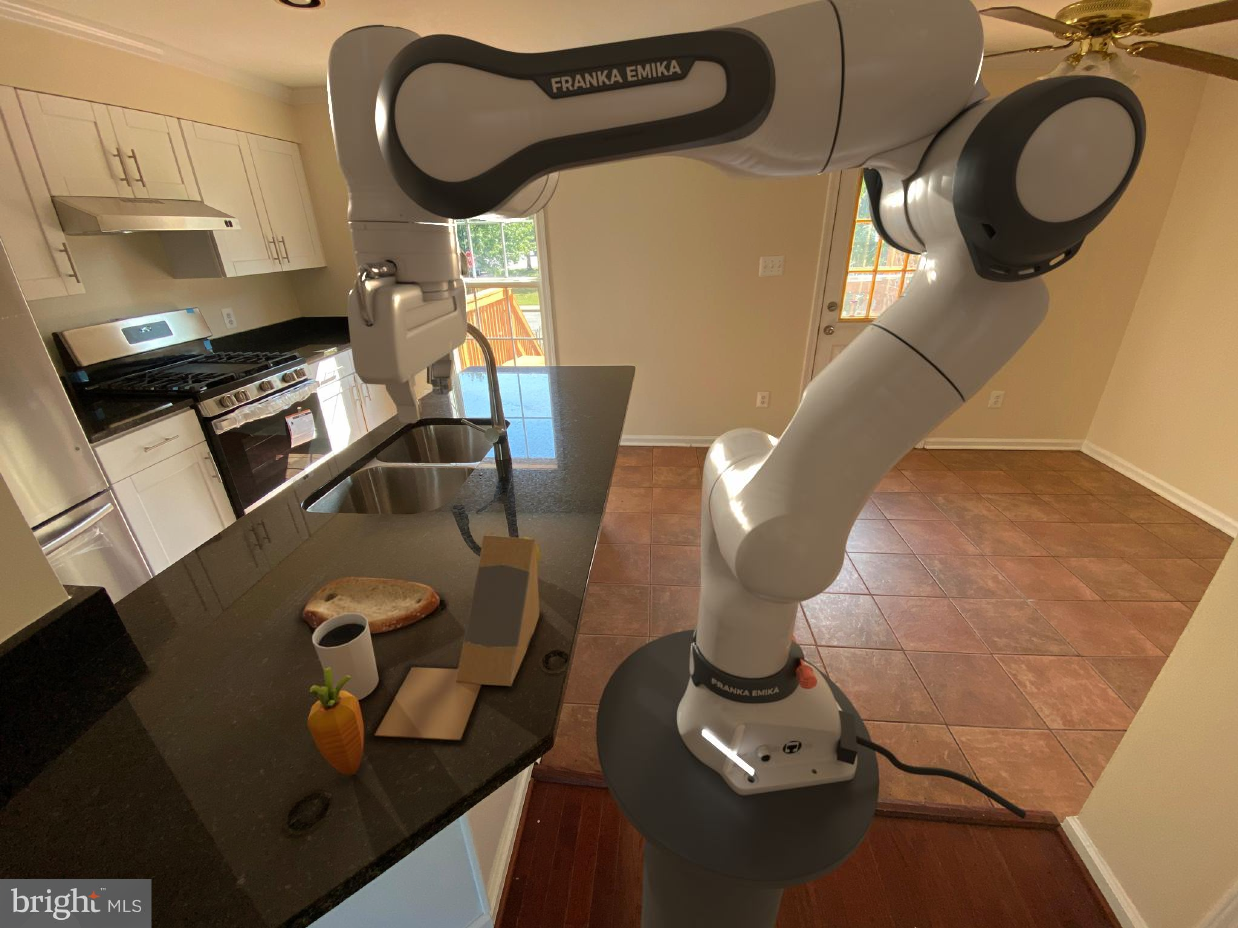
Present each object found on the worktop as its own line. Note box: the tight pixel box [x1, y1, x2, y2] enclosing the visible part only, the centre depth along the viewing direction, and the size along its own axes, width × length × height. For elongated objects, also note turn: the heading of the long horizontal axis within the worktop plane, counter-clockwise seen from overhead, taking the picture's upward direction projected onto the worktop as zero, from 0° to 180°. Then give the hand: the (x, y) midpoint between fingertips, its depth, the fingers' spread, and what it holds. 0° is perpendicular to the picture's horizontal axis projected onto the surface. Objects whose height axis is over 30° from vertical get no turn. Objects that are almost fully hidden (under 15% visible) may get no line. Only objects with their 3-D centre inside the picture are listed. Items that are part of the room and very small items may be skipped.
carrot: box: [307, 667, 365, 776], centre depth 55 cm, size 5×5×15 cm
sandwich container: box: [456, 534, 540, 687], centre depth 74 cm, size 9×15×15 cm, turn 173°
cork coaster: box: [374, 666, 483, 741], centre depth 67 cm, size 11×11×1 cm
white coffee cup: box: [311, 613, 380, 701], centre depth 68 cm, size 7×7×10 cm
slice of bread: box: [301, 576, 440, 634], centre depth 84 cm, size 18×18×4 cm
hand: (428, 405), depth 51 cm, fingers open, 8 cm apart
